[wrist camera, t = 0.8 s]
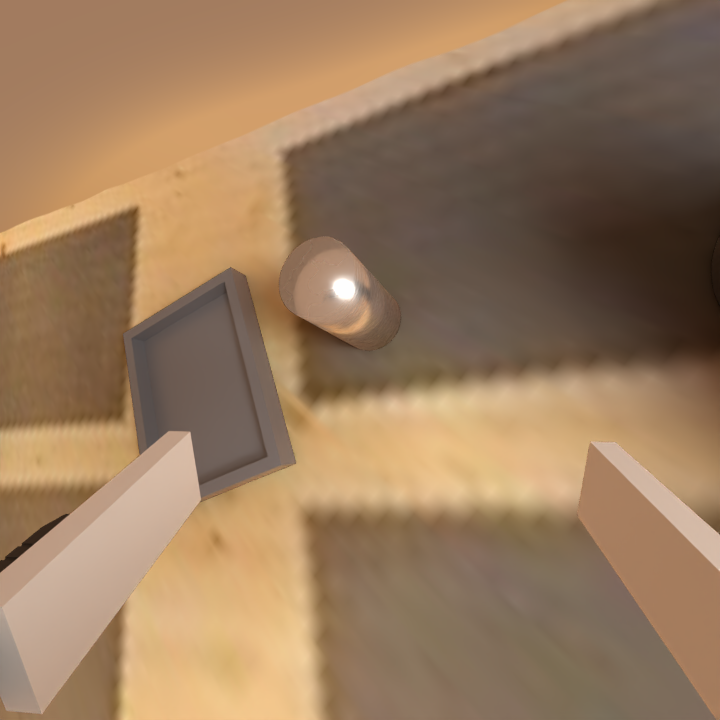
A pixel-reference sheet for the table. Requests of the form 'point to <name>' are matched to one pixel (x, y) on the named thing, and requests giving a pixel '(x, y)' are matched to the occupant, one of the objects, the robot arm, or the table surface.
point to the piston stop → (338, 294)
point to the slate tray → (209, 384)
